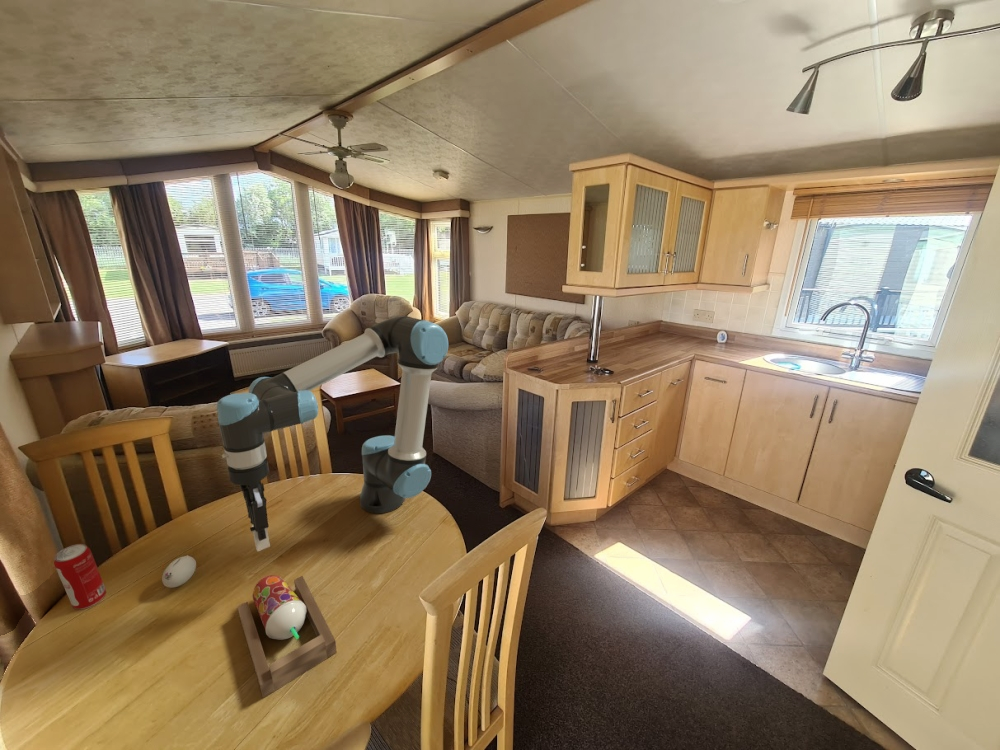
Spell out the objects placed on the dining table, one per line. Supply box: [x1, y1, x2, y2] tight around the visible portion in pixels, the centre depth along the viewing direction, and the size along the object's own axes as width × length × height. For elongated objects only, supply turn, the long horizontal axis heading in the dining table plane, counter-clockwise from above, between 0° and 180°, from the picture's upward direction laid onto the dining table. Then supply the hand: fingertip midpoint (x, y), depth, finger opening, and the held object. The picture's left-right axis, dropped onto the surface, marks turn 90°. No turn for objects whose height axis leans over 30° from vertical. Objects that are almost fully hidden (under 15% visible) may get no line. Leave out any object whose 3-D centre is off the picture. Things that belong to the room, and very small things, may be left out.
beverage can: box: [53, 543, 107, 610], centre depth 91 cm, size 6×6×15 cm
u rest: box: [237, 575, 338, 699], centre depth 87 cm, size 14×22×5 cm, turn 42°
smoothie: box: [252, 574, 307, 641], centre depth 89 cm, size 8×8×20 cm
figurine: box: [161, 554, 197, 588], centre depth 98 cm, size 8×6×7 cm
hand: (263, 547), depth 95 cm, fingers closed
